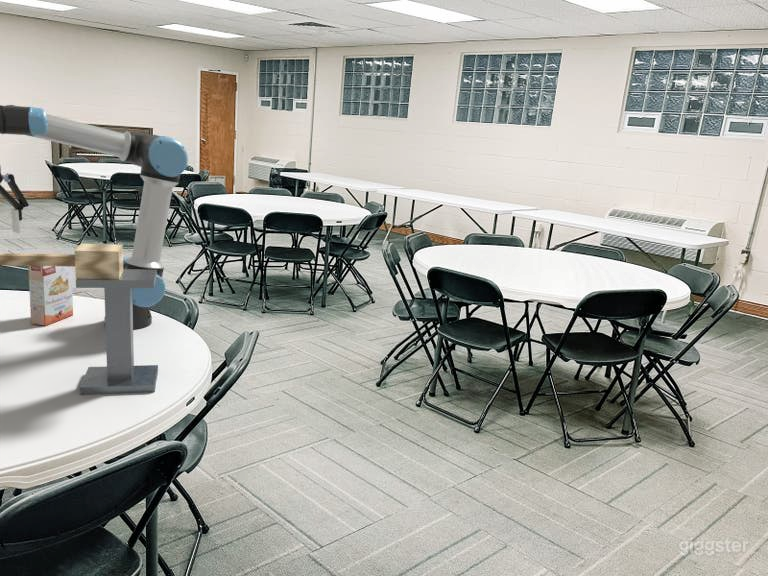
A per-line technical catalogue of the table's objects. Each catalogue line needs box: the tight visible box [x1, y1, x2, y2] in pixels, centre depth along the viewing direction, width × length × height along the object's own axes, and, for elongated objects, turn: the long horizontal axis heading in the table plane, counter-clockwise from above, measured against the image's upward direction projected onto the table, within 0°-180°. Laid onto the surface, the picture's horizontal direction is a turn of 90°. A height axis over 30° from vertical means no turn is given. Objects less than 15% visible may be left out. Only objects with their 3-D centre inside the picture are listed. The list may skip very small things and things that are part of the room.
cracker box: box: [27, 266, 74, 327], centre depth 211 cm, size 14×6×21 cm, turn 168°
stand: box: [75, 269, 159, 396], centre depth 166 cm, size 18×14×30 cm
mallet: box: [0, 243, 124, 279], centre depth 157 cm, size 28×9×7 cm, turn 106°
